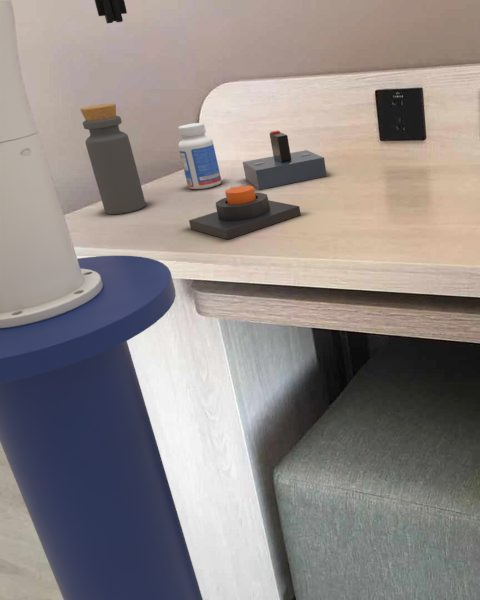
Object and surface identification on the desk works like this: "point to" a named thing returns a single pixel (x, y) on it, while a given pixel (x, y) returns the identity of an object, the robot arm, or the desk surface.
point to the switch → (240, 194)
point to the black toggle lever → (280, 146)
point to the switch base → (243, 217)
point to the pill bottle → (198, 157)
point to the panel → (284, 170)
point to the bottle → (112, 160)
